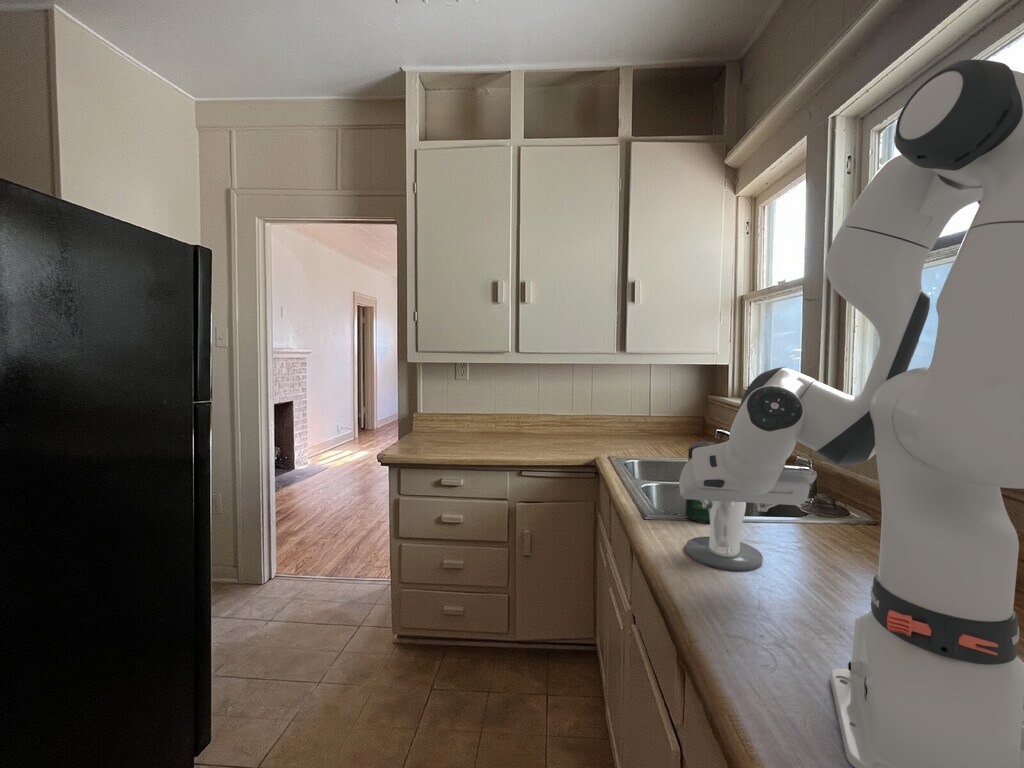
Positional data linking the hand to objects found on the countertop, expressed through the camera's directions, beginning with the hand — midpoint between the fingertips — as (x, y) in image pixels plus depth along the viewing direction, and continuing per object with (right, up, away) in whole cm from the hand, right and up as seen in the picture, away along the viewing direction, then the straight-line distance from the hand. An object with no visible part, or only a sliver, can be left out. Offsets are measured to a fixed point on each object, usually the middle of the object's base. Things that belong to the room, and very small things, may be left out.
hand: (733, 506), depth 89 cm
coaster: (+1, -12, +7) cm, 14 cm away
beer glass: (+1, -11, +6) cm, 13 cm away
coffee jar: (+6, -10, +29) cm, 31 cm away
